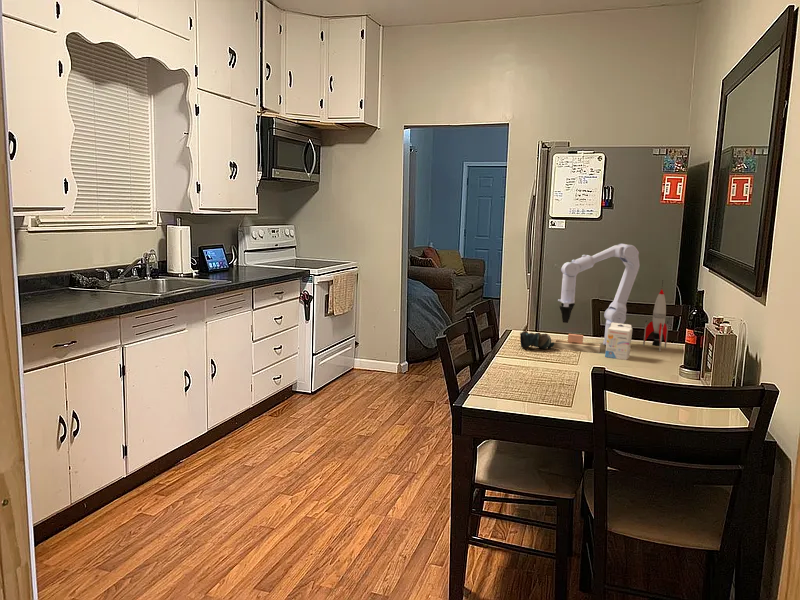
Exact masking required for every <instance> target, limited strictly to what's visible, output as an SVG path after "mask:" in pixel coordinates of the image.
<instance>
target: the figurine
mask: <svg viewBox="0 0 800 600" xmlns="http://www.w3.org/2000/svg"><path fill="white" fill-rule="evenodd" d="M519 335H520V336H519V337H520V341H519V342H520V347H521V348H522V349H523V350H525V351H529V349H530V347H535V348H539V349H540V350H541V349H548V350H549V349H550V350H551V349H552V348H551V347H553V346H554V344H555V343H554V342H551V340H552V338H551V336H550V335H549V334H548V333H541V332H535V333H534V332H528V330H523V331H522V332H520V333H519Z"/></svg>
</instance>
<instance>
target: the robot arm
mask: <svg viewBox="0 0 800 600" xmlns="http://www.w3.org/2000/svg"><path fill="white" fill-rule="evenodd" d="M639 255H640V252H639V250H638V249H637V247H636V246H635V245H633V244H626V243H618V244H615V245H613V246H610V247H608V248H606V249H604V250H602V251H599V252H597V253H595V254H593V255H589V254H582V255H581V257H578V258H576V259H574V258H573V259H572V260H571V261H570V262H569V261H567V262H564V263H563V264H562V267H561V268H560V271H561V273H562V279H561V293H560V299H559V298H558V299H557V302H560V303H561V305H559V309H560V313H561V321H562V323H565V324H567V323H569V320H570V318H571V314H572V311H573V309H574V308H575V302H576V301H575V299H576V284H577V282H576V281H577V275H579V273H581V272H584V271H587V270H589V269H591V268H593V267H594V266H595V264H596V263H598V262H601V261H603V260H606V259H609V258H612V257H614V258H618V259H619V260H621V262H622V264H623V265H624V267H625V268H624V271H623V274H622V277H621V279H620V282H619V285H618V288H617V290H616V292H615V296H614V299H613V301H612V302H611V303H610V304H609V306H608V308H606V310H605V311H604V314H603V316H604V319H605V329H604V336H603V337H604V338H603V340H602V345H604V346H606V343H607V333H608V328H609V327H610V326H611V323H612V322H613V323H621V324H625V322H626V321H627V311H628V309H627V302H628V300H629V298H630V294H631V291H632V288H633V286H634V283H635V281H636V277H637V275H638V273H639V270H640V267H641V266H640V257H639ZM618 326H620V327H624V326H623V325H618Z"/></svg>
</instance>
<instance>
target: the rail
mask: <svg viewBox="0 0 800 600" xmlns="http://www.w3.org/2000/svg"><path fill="white" fill-rule="evenodd" d="M551 342H554V343H555V344H554V346H553V347H551V349H555V350H564V349H565V350H567V351H577V352H583V353H584V352H585V353H593V354H595V353H597V354H600V352H601V343H597V342H585V341H583V343H582V344H579V343H577V342H572V343H569V342H568V339H558V338H557V339H556V338H555V339H554V338H551Z"/></svg>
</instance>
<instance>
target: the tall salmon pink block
mask: <svg viewBox="0 0 800 600" xmlns="http://www.w3.org/2000/svg"><path fill="white" fill-rule="evenodd" d="M567 340H568V342H569V343H572V342H577V343H579V344H582V343H583V342H584V334H575V333H568V336H567Z"/></svg>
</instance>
